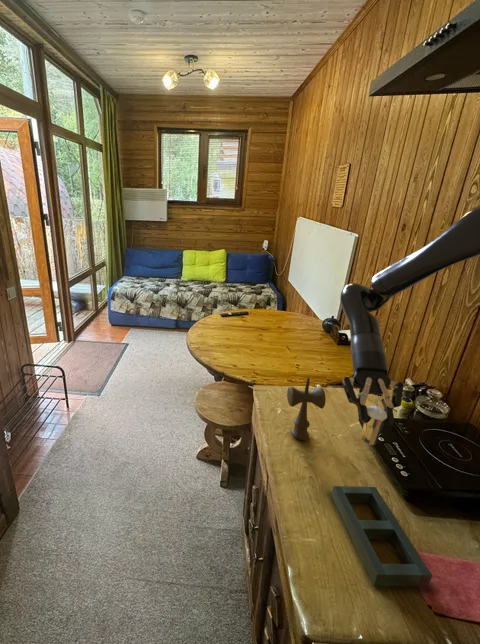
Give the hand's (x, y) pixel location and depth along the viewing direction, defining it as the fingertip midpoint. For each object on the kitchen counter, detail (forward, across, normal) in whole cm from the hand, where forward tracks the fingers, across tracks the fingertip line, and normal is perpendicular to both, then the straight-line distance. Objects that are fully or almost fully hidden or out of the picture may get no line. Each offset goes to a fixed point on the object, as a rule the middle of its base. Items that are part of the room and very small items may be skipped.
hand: (376, 423), depth 72 cm
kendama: (+3, -13, +22) cm, 26 cm away
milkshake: (+3, 0, +6) cm, 7 cm away
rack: (+22, -3, +2) cm, 22 cm away
